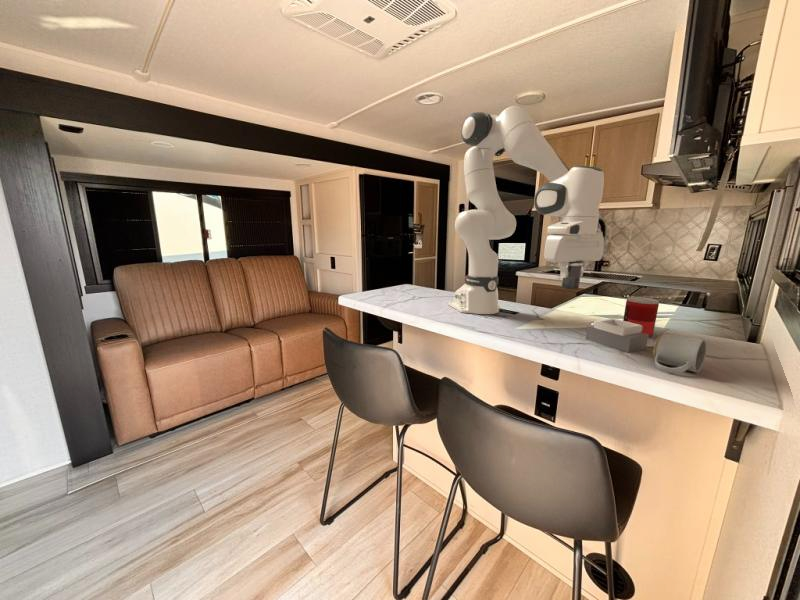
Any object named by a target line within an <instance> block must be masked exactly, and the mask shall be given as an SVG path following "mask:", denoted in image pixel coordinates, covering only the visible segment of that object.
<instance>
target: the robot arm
mask: <svg viewBox="0 0 800 600" xmlns="http://www.w3.org/2000/svg"><path fill="white" fill-rule="evenodd" d="M467 115H468V114H467ZM460 132H461V133H460V134H461V139H462V141H463V142H464V143H465V144H466V145H469V146H471V147H470V148H468V149H467V150H466V152H465V154H464V157H463V158H464V159H463V174H464V182H465V183H464V184H465V185H464V186H465V190H466V197H467V200H468V201H469V202H470V203H471V204H472V205H474V206H475V207H476V209H469V210H465V211H461V212H459V214H458V215H457V216H456V219H455V222H454V230H455V232H456V235H457V236H458V237H459V238H460V239H461V240H462V241H463V243H464V245H465V247H466V250H467V254H468V255H467V256H468V274H467V275H463V276H464V278H463V279H465V281H464V284H463V285H462V286H461V287H459V288H457V290H456V291H455V292H454V295H453V296H454V297H453V300H452V301H448V303H447V305H448V306H450V307H452V308H453V309H455V310H456V311H458V312H460V313H463V314H464V313H465V314H477V315H493V314H494V315H495V314H498V313H499V312H500V308H501V307H500V305H499V289H498V287H497V286H498V285H499V276H498V272H499V271H498V270H499V255H498V253H496V252H495V251H494V250H493V248H491V244H490V240H495V241H496V240H502V239H506V238H509V237H511V236H512V235H513V234H514V233H515V231H516V227H517V219H516V217H515V215H514V214H512V213H511V212H510V211H509V210H508V209H507V207H506V206H505V205H504V203H503V201H502V199H501V197H500V195H499V193H498V188H497V184H496V176H495V170H494V164H493V163H494V162H493V161H494V157H500V156H502V155H503V154H504V152H505V153H506V154H507V156H508V157H509V159H511V160H512V161H513V162H514V163H515V164H517V165H520V166H524V167H526V168H529V169H532V170H534V171H537V172H539V173H541V174H542V175H543V177H545V178H546V179H547V180H548V182H546V183H544V184H542V185H541V186H540V187H539V188H538V189H537V191H536V193H535V195H534V200H533V202H534V207H535V211H537V213H538V214H539V215H542V216H545V217H546V216H547V217H559V218H561V220H560V221H558V222H556V223H553V224H551V225H549V226H547V230H546V231H547V234H548V236H547V237H546V240H545V244H544V250H543V257H544V261H545V262H548V263H558V269H559V271H560V272H559V273H560V274H559V275H560V276H559V277H560V278H561V279H563V278H568V277H569V273H570V272H568V270H567V266H568V264H569V262H575V261H583V266H582V270H581V276H580V278H582V277H583V276H584V271H585V270H586V268H587V266H588V263H589V262H594V261H595V262H597V261H601V260H602V259H603V255H604V250H605V249H604V248H605V238H604V235H603V231H602V230H601V229H600V228H598V226H599V225H598V224H599V220H600V211H599V210H600V209H599V208H600V205H601V203H602V200H603V196H604V195H603V194H604V186H605V175H604V170H602V168H600V167H597V166H590V165H589V166H588V165H575V166H573V167H572V168H569V167H568V166H567V165H566V163H565V162H564V161H563V159H562V158H561V157H560V155H558V153H557V152H556V151H555V150H554V148H553V147H552V146H551V145H550V143H549V142H548V141H547V140H546V138H545V137H544V135H543V134H542V132H541V131H540V129H539V128H538V127H537V124H536V123H535V122H534V120H533V119H532V117H531V116H530V115H529V114H528V113H527V111H526V110H524V109H523V108H522V107H520V106H518V105H511V106H509V107H507V108H505V109H503V110H502V111H501V112H500V114H498V115H497V114H491V113H486V112H482V111H481V112H480V111H479V112H478V111H477V112H472V113H469V115H468V116H466V117H465V119H464V121H463V123H462V125H461V131H460Z"/></svg>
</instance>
